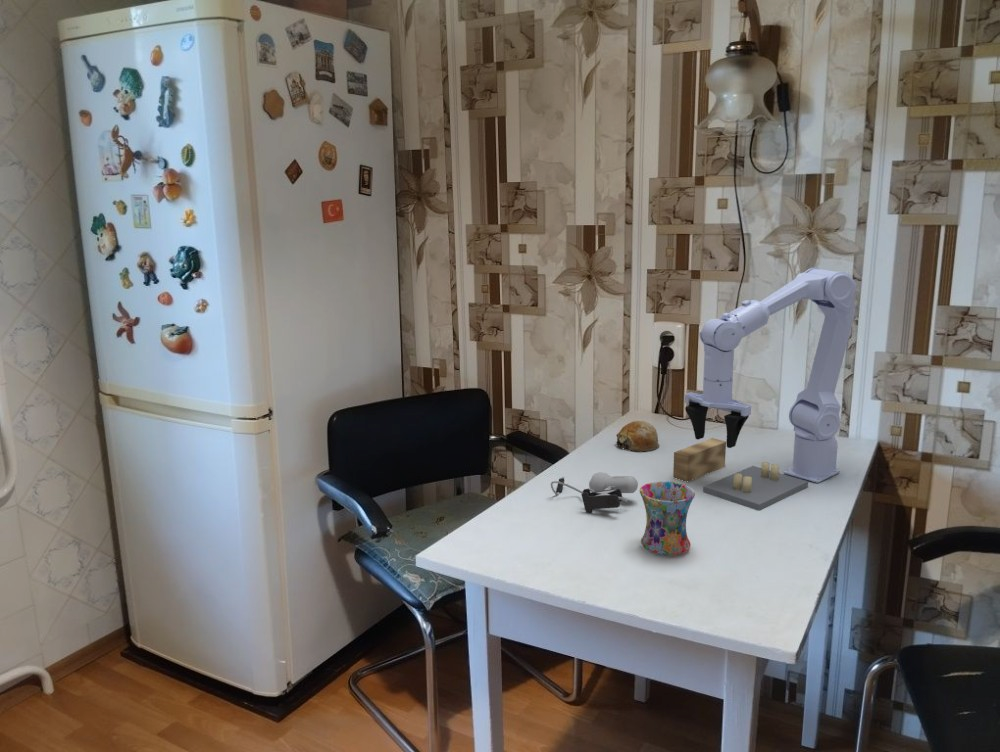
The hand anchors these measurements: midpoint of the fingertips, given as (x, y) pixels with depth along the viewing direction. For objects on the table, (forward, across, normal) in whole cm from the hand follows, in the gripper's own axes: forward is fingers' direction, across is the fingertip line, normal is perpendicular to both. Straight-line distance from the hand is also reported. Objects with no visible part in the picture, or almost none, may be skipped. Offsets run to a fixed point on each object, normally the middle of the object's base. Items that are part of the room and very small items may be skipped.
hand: (715, 442), depth 164 cm
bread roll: (+10, -28, +9) cm, 31 cm away
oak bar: (+10, -7, +5) cm, 13 cm away
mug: (+10, +10, -29) cm, 33 cm away
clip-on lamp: (+10, -12, -24) cm, 29 cm away
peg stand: (+10, +7, +5) cm, 13 cm away
